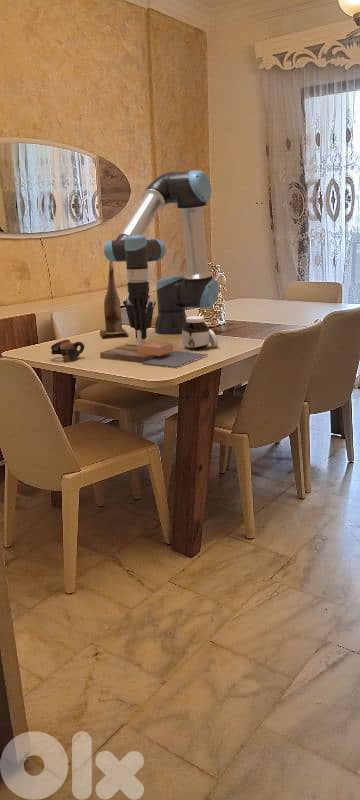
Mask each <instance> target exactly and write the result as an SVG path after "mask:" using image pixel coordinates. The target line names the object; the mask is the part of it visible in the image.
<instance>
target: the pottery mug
mask: <svg viewBox="0 0 360 800" xmlns="http://www.w3.org/2000/svg"><path fill="white" fill-rule="evenodd" d="M79 346H80V347H79ZM78 348H79V349H78ZM50 349H51V351H50V352H51V355H60V356H62V360H63V362H64V363H68V362H71V361H78V360H79V359H78V357H80V355H81V354H82V353H83V352H84V350H85V344H84V343H83V341H77V342H73V343H72V342H71V340H70V339H63V340H60V341H58V342H56V343H54V344H52V345H51V346H50Z"/></svg>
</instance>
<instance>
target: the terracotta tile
mask: <svg viewBox="0 0 360 800" xmlns="http://www.w3.org/2000/svg"><path fill="white" fill-rule="evenodd" d="M173 344H174V343H173V342H167V341H166V342H165V341H153V340H149V341H145V343H141V344H138V343H137V344H136V345H137V353H138V354H147V355H156V356H161V355H164V354H167V353H170V352H174V345H173Z"/></svg>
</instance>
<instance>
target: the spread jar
mask: <svg viewBox="0 0 360 800" xmlns="http://www.w3.org/2000/svg"><path fill="white" fill-rule="evenodd" d="M186 322H187V323H186V324H185V325H184V326H183V328H182V333H181V339H182V345H183V346H184V348H185V349H186V350H188V349H189V351H200V350H199V349H203V350H205V349H206V348H208V346H209V345H211V346H212V347H213V346H214V347H213V348H215V347H217V346H219V339H218V338H217V336H216V334H215V332H214V331H213V330H212V328H211V329H209V325H208V324H207V323H206V321H205V317H204V316H201V315H200V316H199V315H193V316H187V318H186ZM204 348H205V349H204Z"/></svg>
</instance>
